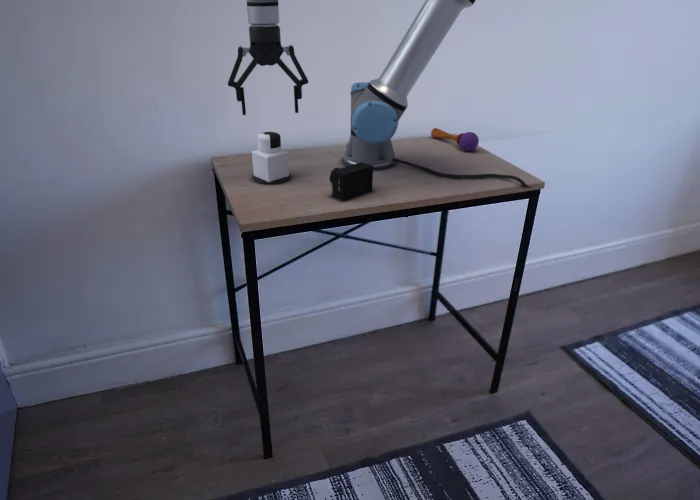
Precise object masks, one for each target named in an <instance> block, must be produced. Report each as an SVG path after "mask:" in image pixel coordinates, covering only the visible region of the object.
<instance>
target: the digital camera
mask: <svg viewBox="0 0 700 500" xmlns="http://www.w3.org/2000/svg"><path fill="white" fill-rule="evenodd" d="M373 181H374V169H373V166H371V165H369V164H366V163H363V162H360V163H357V164H354V165H350V166H349V165H347V166H343V167H335V168H333V169H332V170H331V172H330V174H329V182H330V183H331V196H332V197H333V198H335V199H337V200H339V201H342V202H345V201H348V200H351V199H354V198H356V197H360V196H362V195H365V194H369V193H371V192H373V185H374V184H373V183H374V182H373Z"/></svg>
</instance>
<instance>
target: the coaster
mask: <svg viewBox="0 0 700 500" xmlns="http://www.w3.org/2000/svg"><path fill="white" fill-rule="evenodd" d="M290 179H291V174H289V177H285V178H282V179H279V180H276V181H272V182H267V181H265V180H262V179H260V178H258V177H255V176H254V175H253V181H254V182H256V183H259V184H262V185H279V184H284V183H286V182H289V180H290Z"/></svg>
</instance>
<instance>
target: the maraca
mask: <svg viewBox="0 0 700 500" xmlns="http://www.w3.org/2000/svg"><path fill="white" fill-rule="evenodd" d="M430 135H431V137H432V138H434V139H444V140H454V141H455V143H456V144H457V145H458V146H459V147H461V149H462V150H463V151H466V152H472V151H474V150H475V149H477V147H478V146H479V141H480V140H479V136H478V135H477V134H476V133H475V132H472V131H467V132H462V133H459V134H457V135H454V134H451V133H449V132H447V131H444V130H442V129H441V128H437V127H434V128H432V129H431V131H430Z"/></svg>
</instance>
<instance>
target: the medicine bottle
mask: <svg viewBox="0 0 700 500" xmlns="http://www.w3.org/2000/svg"><path fill="white" fill-rule="evenodd" d="M257 148H258V149H256V150H252V151H251V158H252V159H251V160H252V171H253V177H254V176H255V177H258V178H260V179H262V180H265V181H267V182H272V181H276V180H279V179H282V178H285V177H289V175H290V163H289V161H290V160H289V152H288V151H287V150H284V149H282V141H281V134H280V133H278V132H275V131H263V132H261V133H258V135H257Z"/></svg>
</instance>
